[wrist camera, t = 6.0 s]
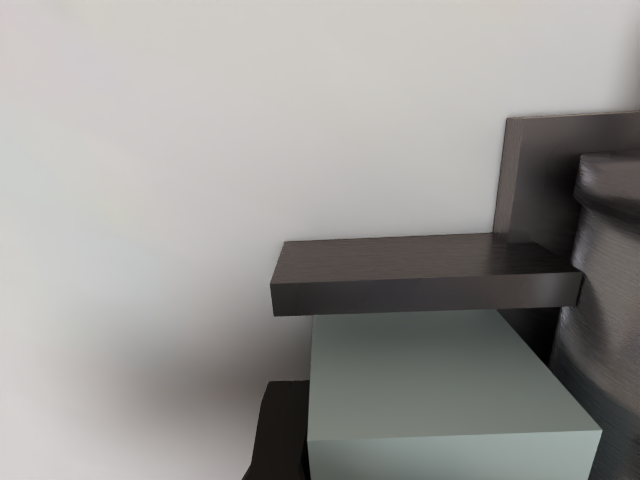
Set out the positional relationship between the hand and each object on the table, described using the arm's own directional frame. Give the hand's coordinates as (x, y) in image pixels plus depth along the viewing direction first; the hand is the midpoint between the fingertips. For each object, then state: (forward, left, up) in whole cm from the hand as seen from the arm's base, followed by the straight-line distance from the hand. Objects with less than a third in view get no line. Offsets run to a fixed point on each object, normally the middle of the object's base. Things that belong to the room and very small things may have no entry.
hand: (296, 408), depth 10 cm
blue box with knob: (0, -3, -1) cm, 3 cm away
